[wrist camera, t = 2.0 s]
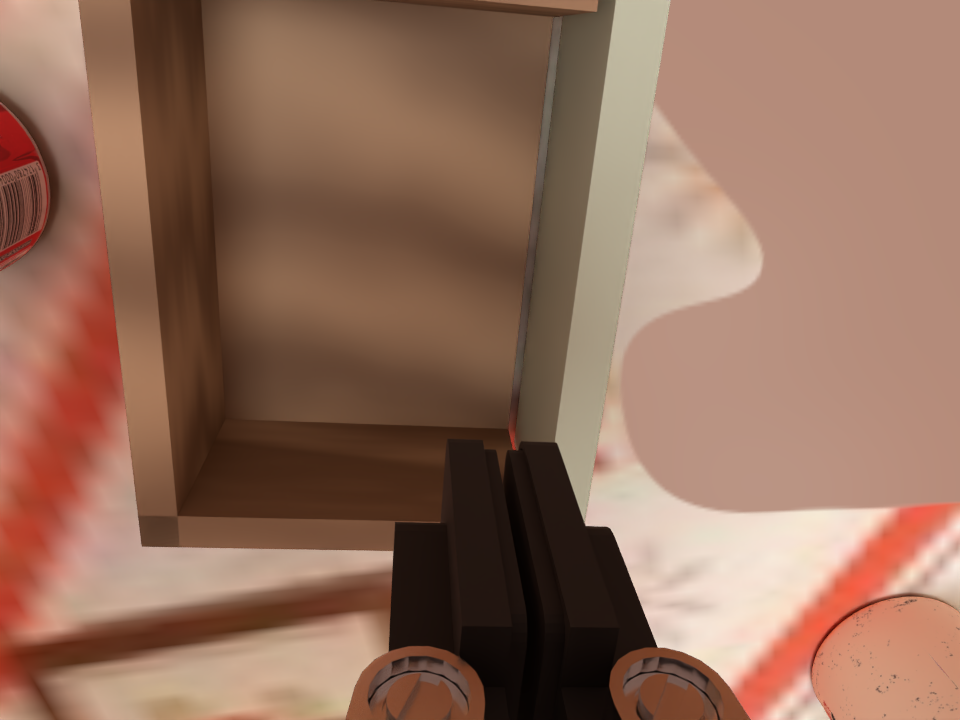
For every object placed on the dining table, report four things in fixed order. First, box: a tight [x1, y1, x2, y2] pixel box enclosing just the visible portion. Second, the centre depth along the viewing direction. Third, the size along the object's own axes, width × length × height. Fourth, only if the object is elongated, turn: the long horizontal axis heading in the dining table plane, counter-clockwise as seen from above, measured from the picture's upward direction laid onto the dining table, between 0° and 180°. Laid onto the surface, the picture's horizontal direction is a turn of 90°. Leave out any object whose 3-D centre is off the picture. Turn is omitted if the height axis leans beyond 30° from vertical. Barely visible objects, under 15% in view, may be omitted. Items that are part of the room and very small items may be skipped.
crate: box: [78, 0, 598, 551], centre depth 25 cm, size 18×13×8 cm
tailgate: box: [514, 0, 671, 523], centre depth 25 cm, size 18×1×7 cm, turn 175°
